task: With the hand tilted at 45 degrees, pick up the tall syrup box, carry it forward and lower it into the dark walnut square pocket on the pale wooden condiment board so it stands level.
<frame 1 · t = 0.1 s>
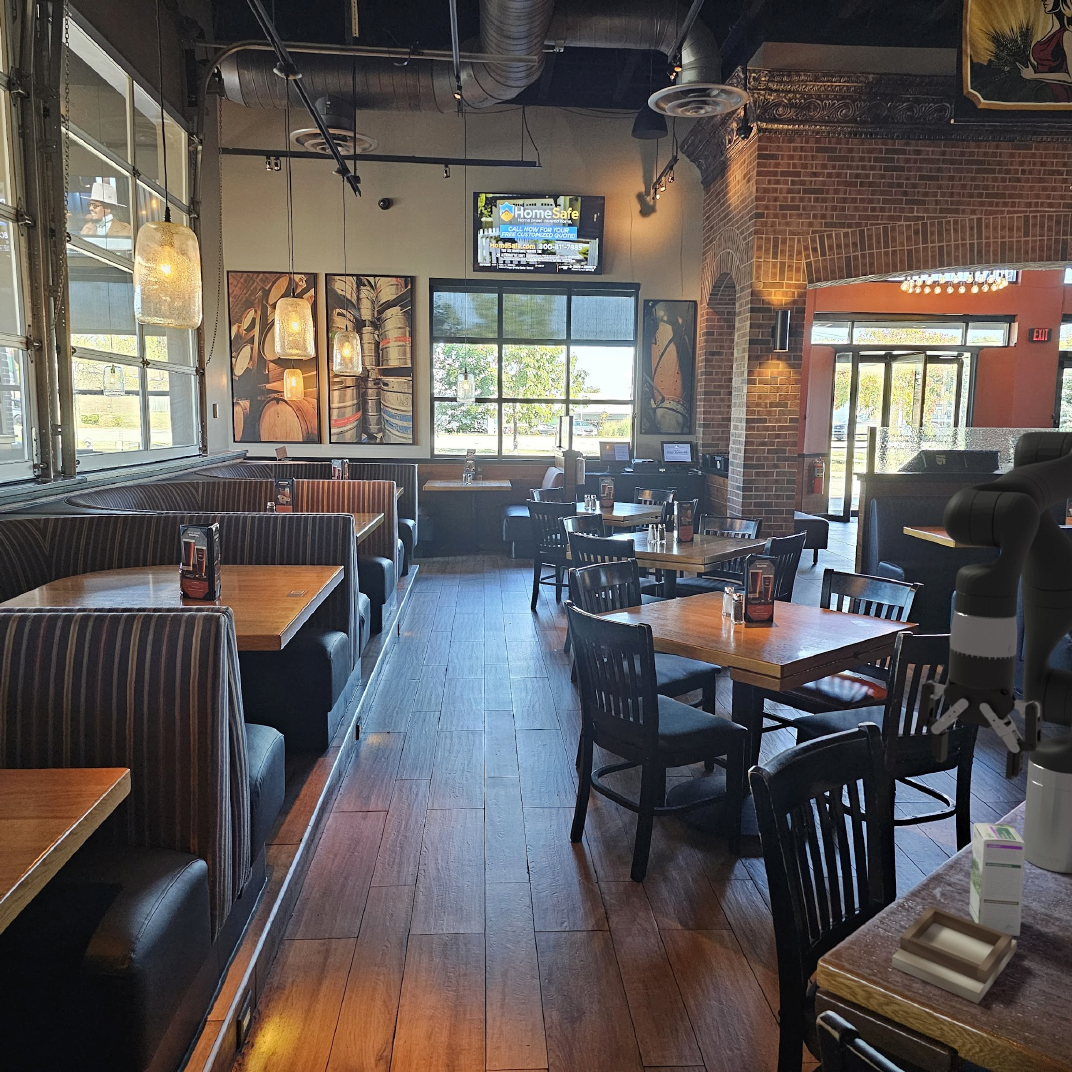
hand: (974, 768, 112), 29 cm above the table, tool pointing down, fingers open, 8 cm apart
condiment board: (954, 958, 119), on the table
syrup box: (992, 925, 128), on the table
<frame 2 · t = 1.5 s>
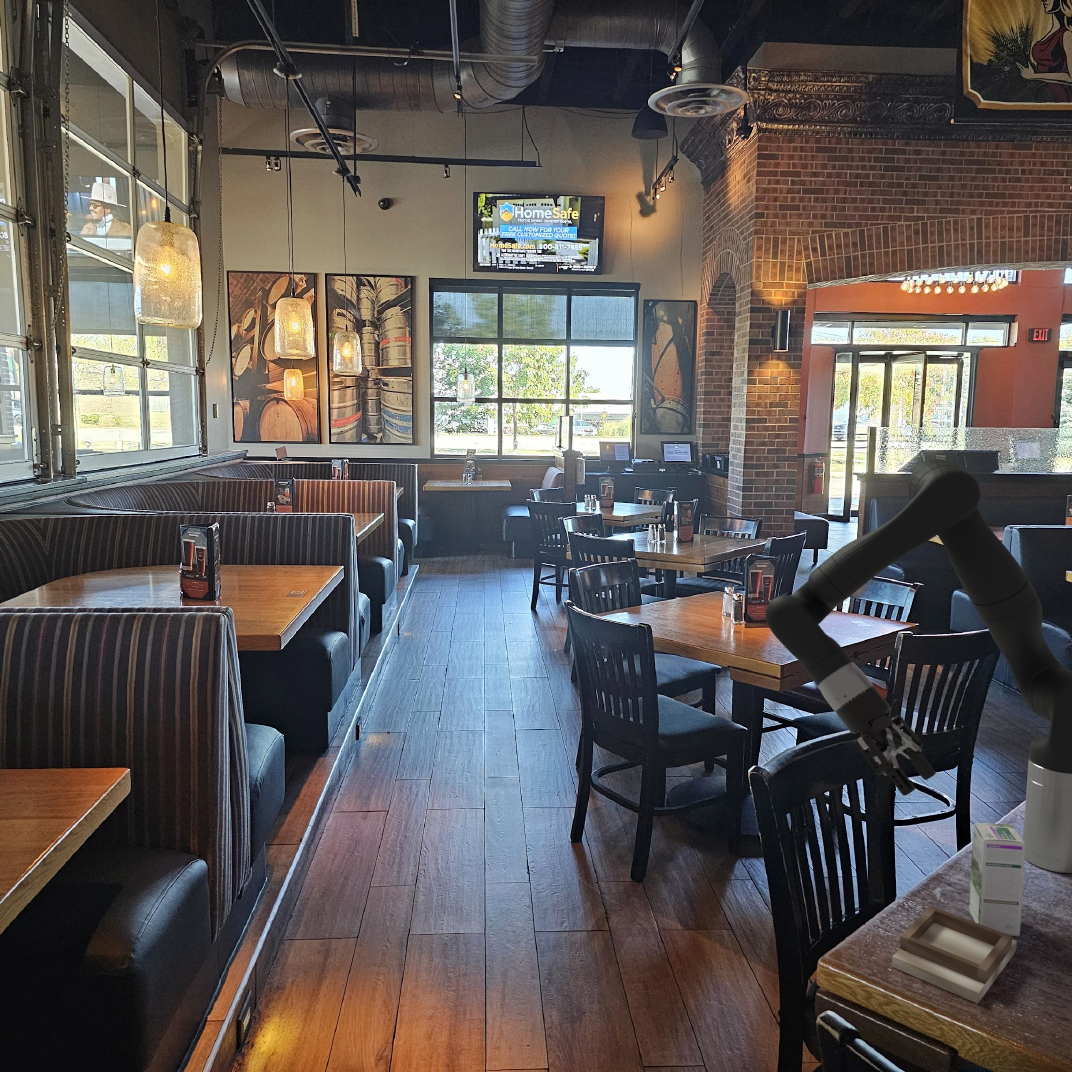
hand: (920, 784, 134), 18 cm above the table, tool tilted 45°, fingers open, 8 cm apart
nothing on the table moved.
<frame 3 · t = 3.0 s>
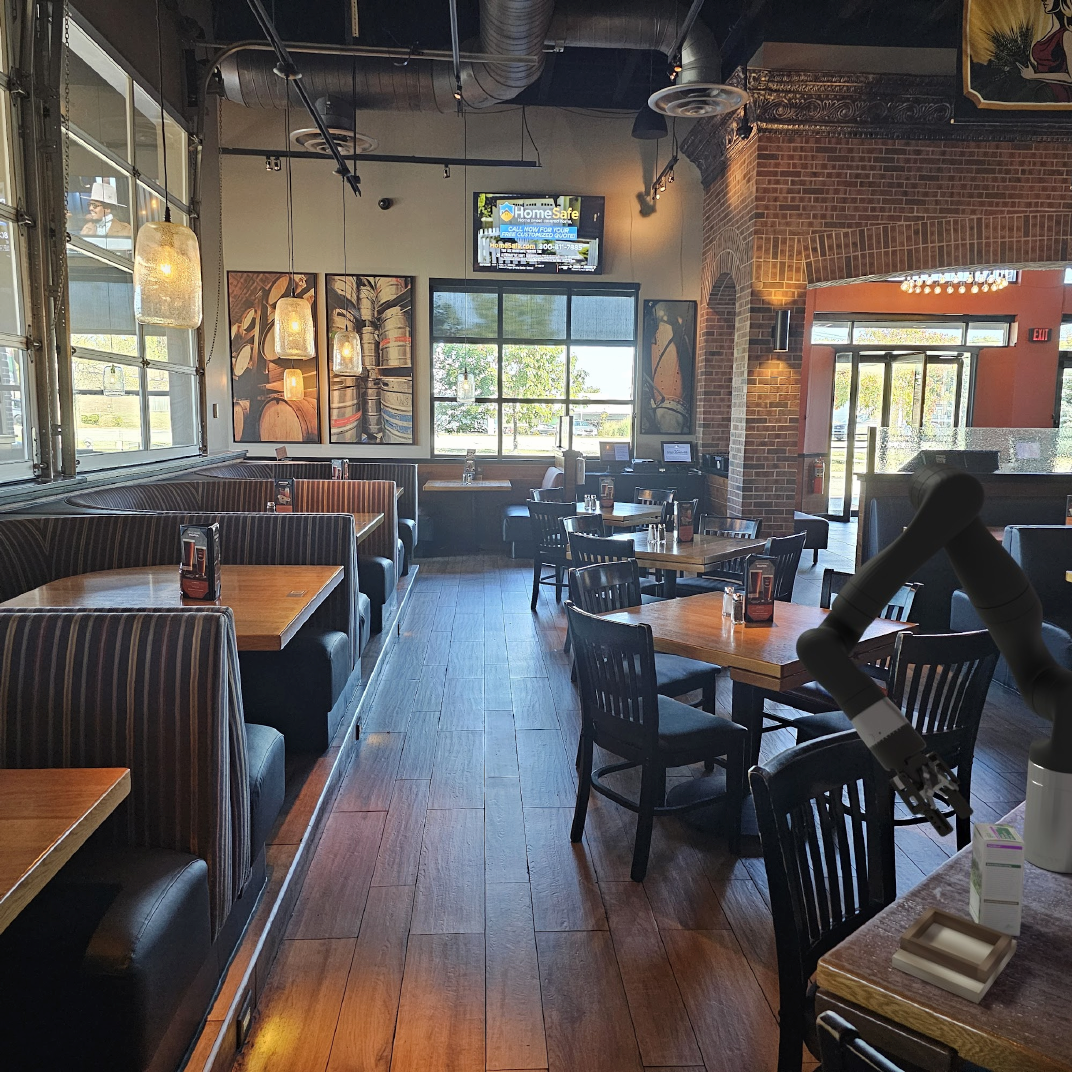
hand: (958, 824, 130), 14 cm above the table, tool tilted 45°, fingers open, 8 cm apart
nothing on the table moved.
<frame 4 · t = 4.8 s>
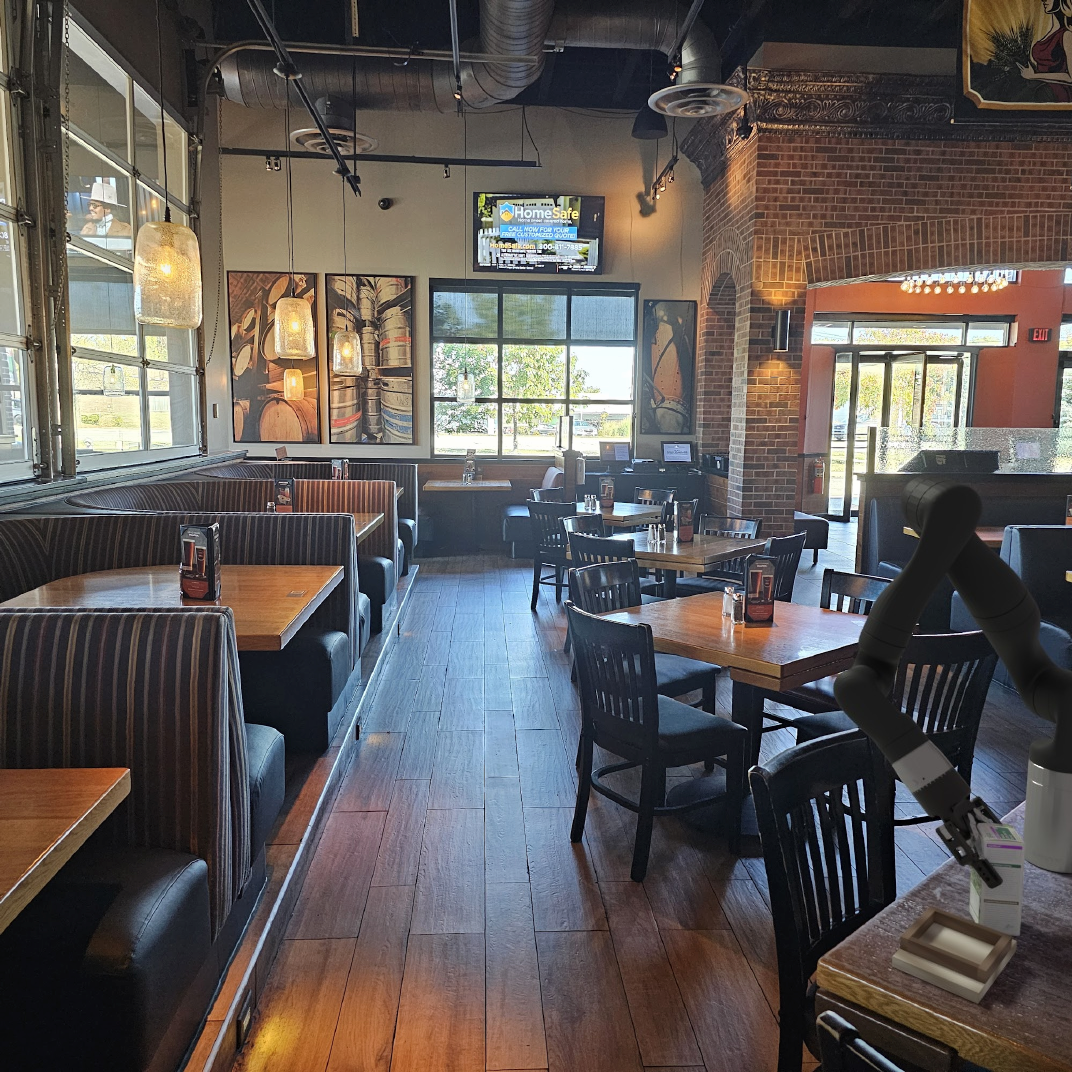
hand: (1006, 875, 126), 8 cm above the table, tool tilted 45°, fingers closed on syrup box, 8 cm apart
syrup box: (992, 925, 128), on the table, touching gripper
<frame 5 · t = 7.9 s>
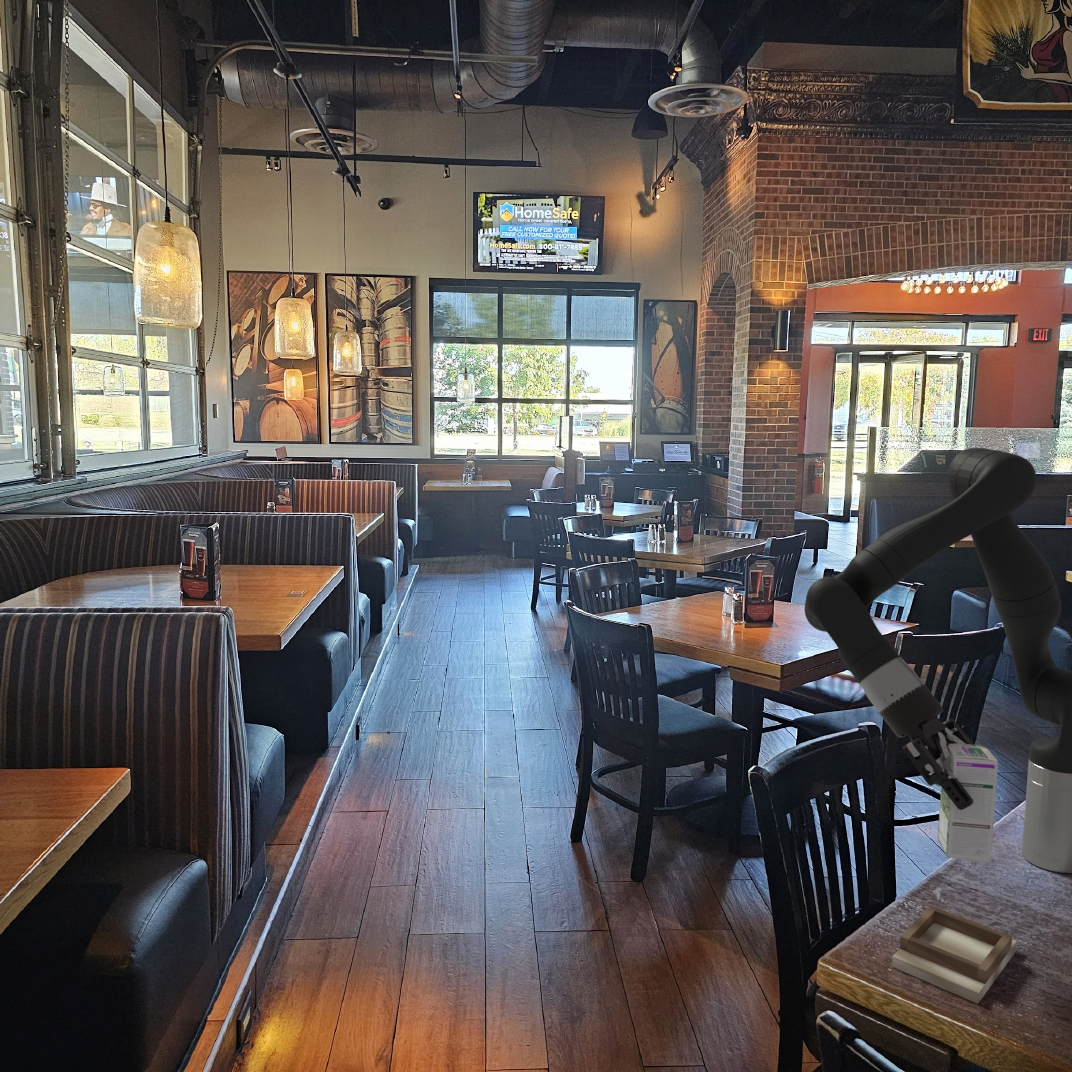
hand: (978, 798, 117), 23 cm above the table, tool tilted 45°, fingers closed on syrup box, 8 cm apart
syrup box: (962, 852, 119), point 15 cm above the table, touching gripper
when the fingers open (11 cm above the table, at t = 10.9 s): syrup box drops 2 cm, resting on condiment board.
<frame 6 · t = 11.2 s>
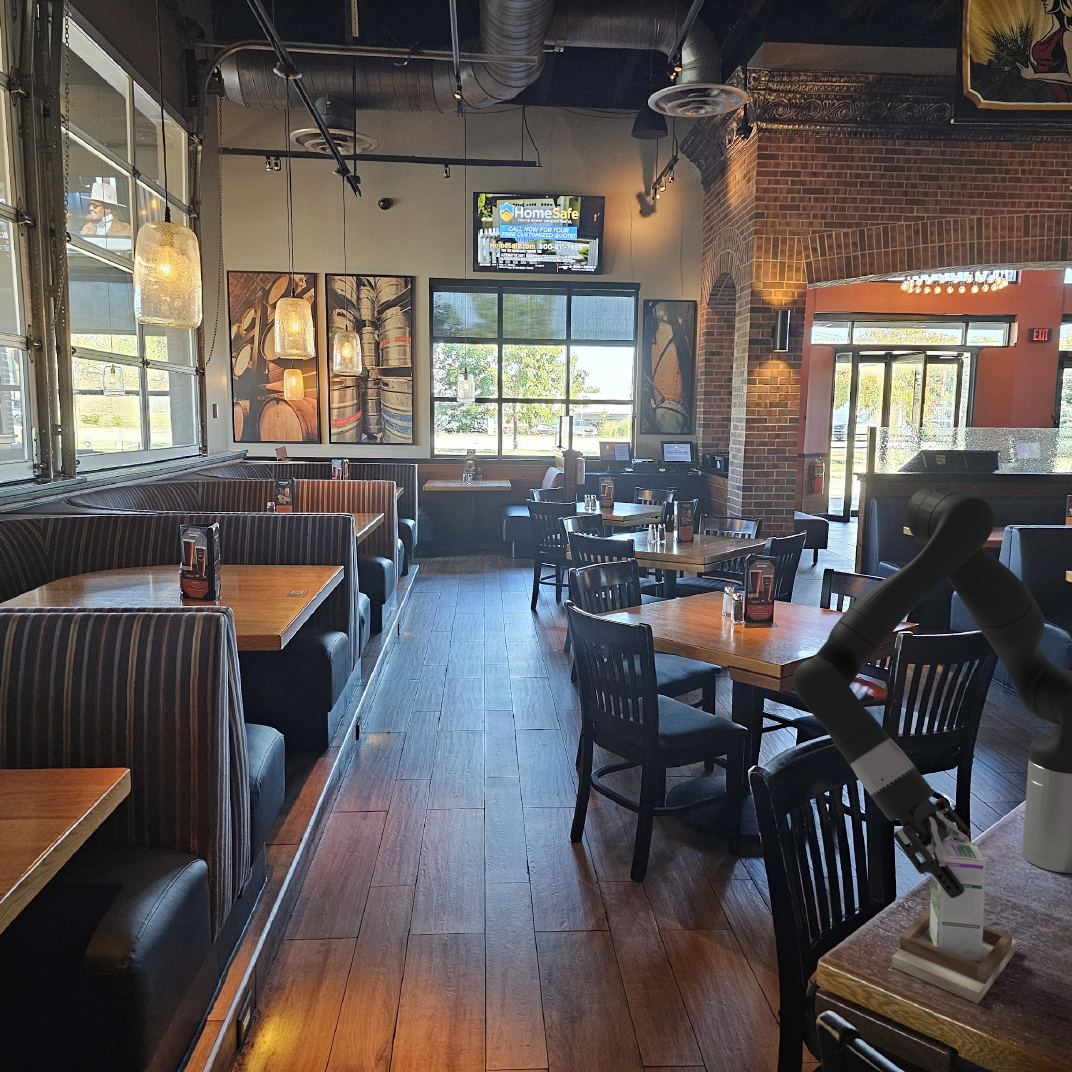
hand: (970, 883, 117), 12 cm above the table, tool tilted 45°, fingers open, 8 cm apart
syrup box: (953, 949, 119), point 1 cm above the table, touching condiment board, gripper
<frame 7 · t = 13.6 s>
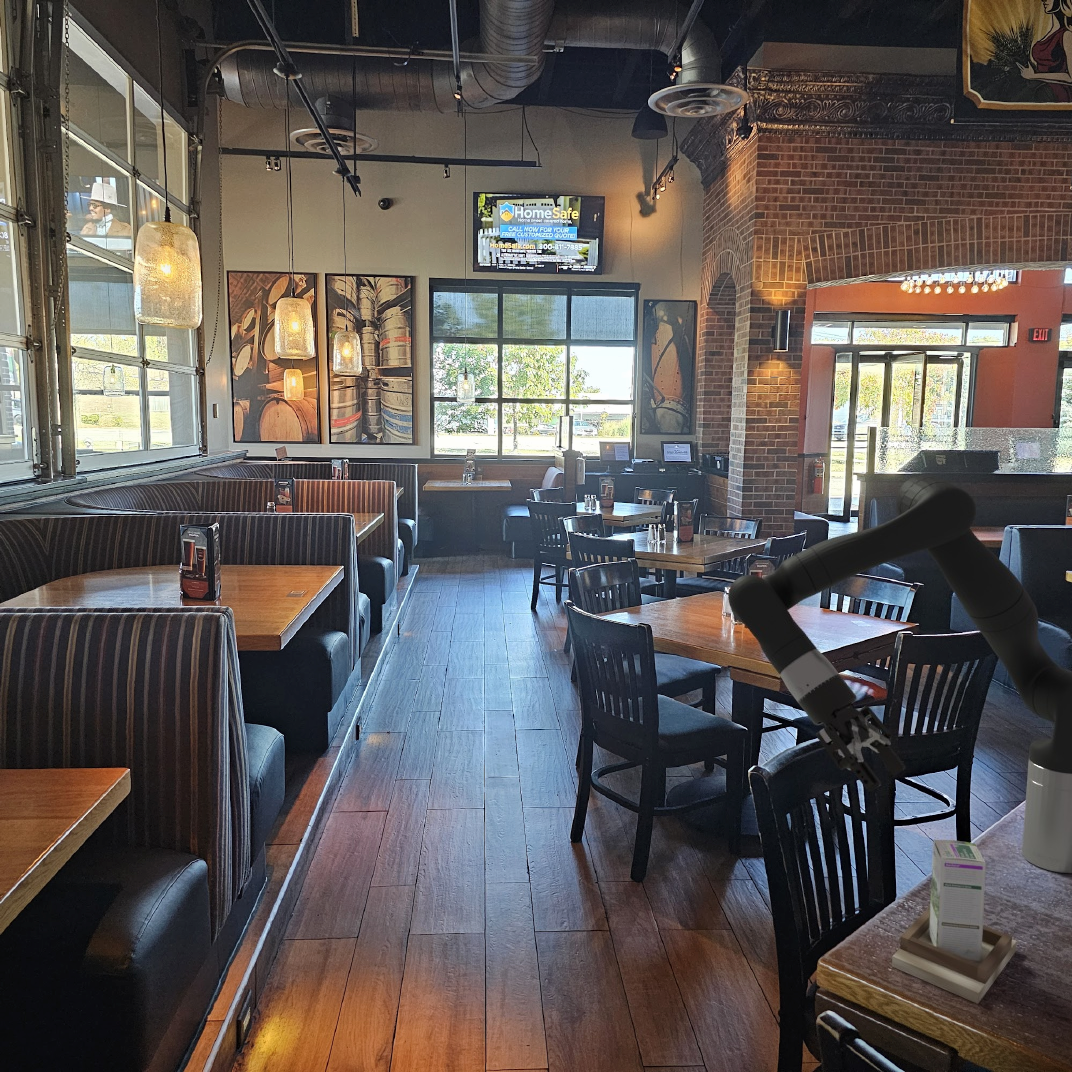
hand: (888, 780, 124), 23 cm above the table, tool tilted 45°, fingers open, 8 cm apart
syrup box: (953, 949, 119), point 1 cm above the table, touching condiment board
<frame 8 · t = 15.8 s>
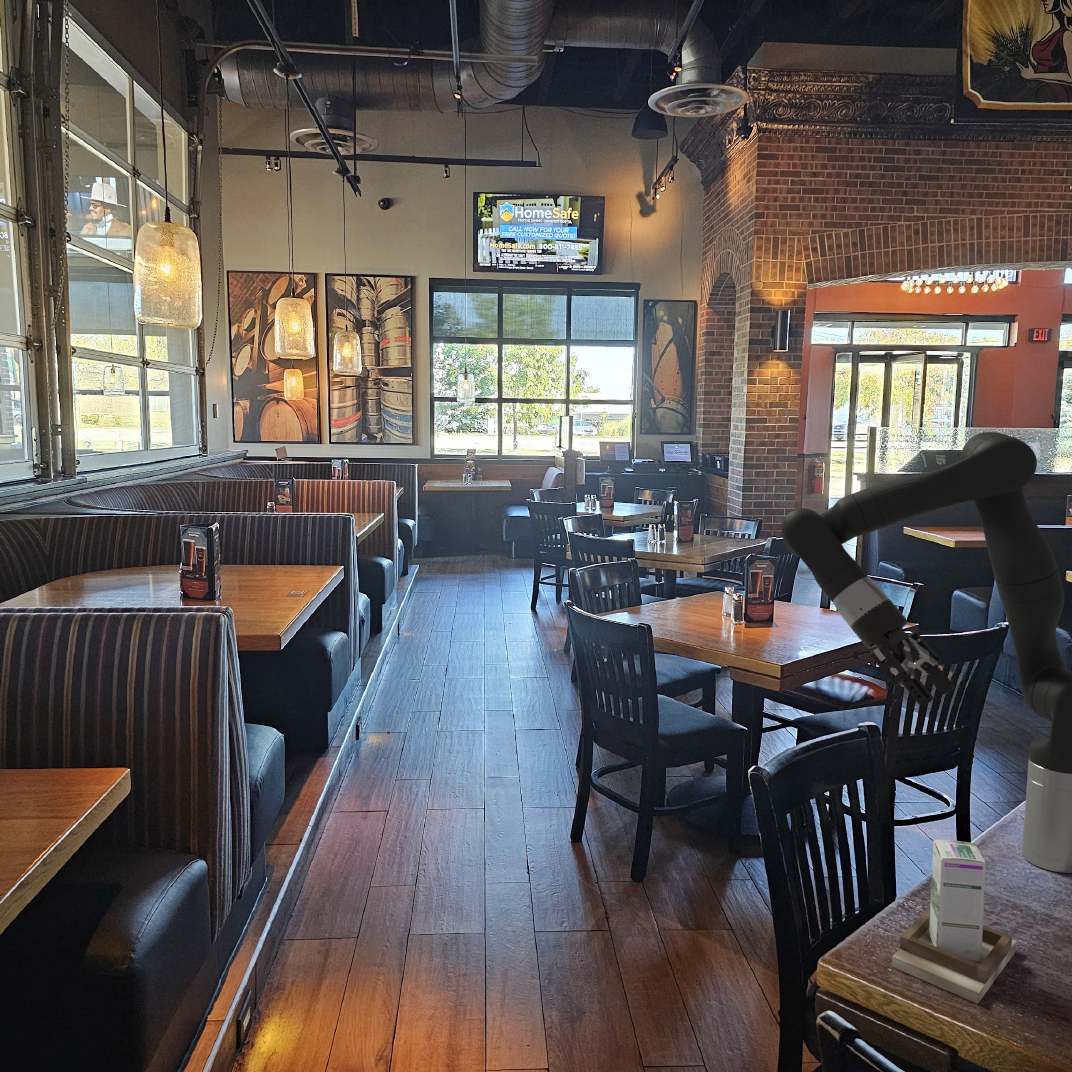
hand: (938, 697, 131), 33 cm above the table, tool tilted 45°, fingers open, 8 cm apart
nothing on the table moved.
at the end: syrup box 0.3 cm off-centre on the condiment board, point 1.3 cm above the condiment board's base; syrup box tilted 0°; the gripper is holding nothing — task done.
